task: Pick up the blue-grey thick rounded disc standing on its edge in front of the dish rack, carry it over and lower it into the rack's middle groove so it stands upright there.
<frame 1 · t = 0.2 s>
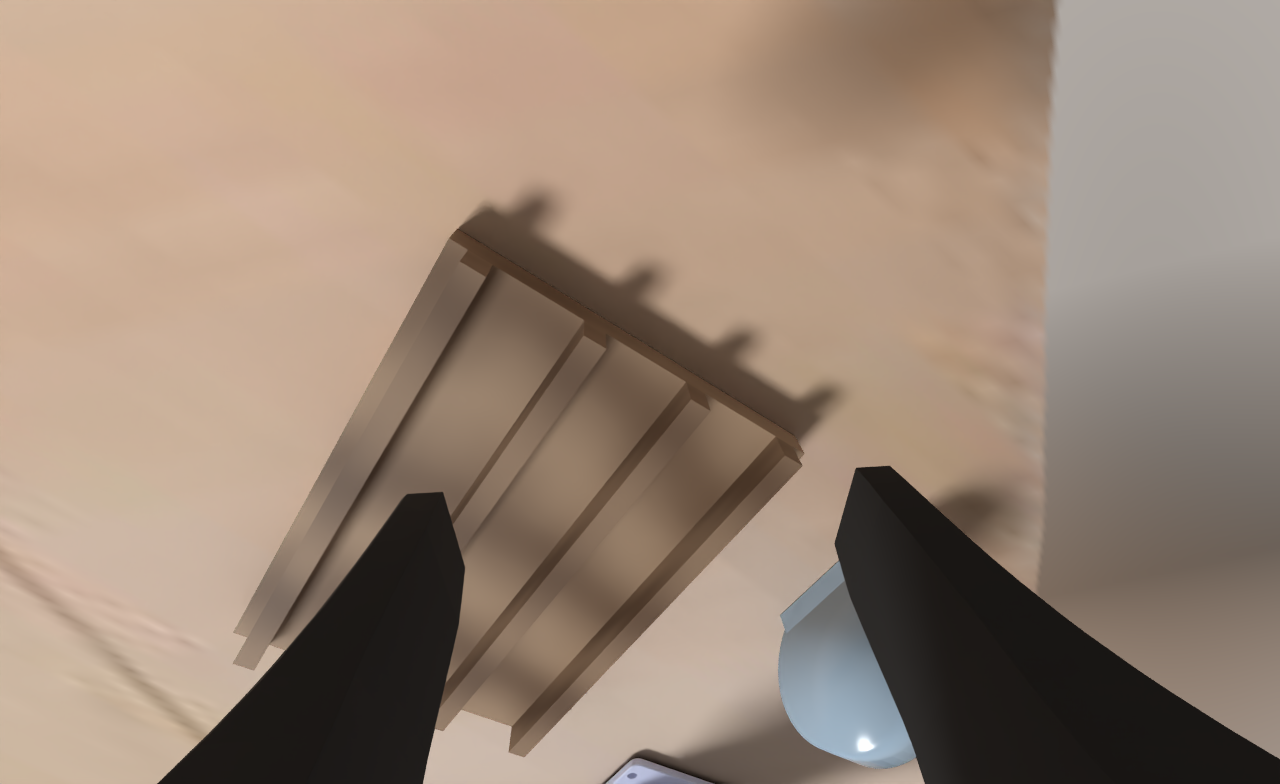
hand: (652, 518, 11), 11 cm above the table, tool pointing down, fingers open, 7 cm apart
rack: (508, 526, 24), on the table
blue-grey thick rounded disc: (828, 593, 27), on the table
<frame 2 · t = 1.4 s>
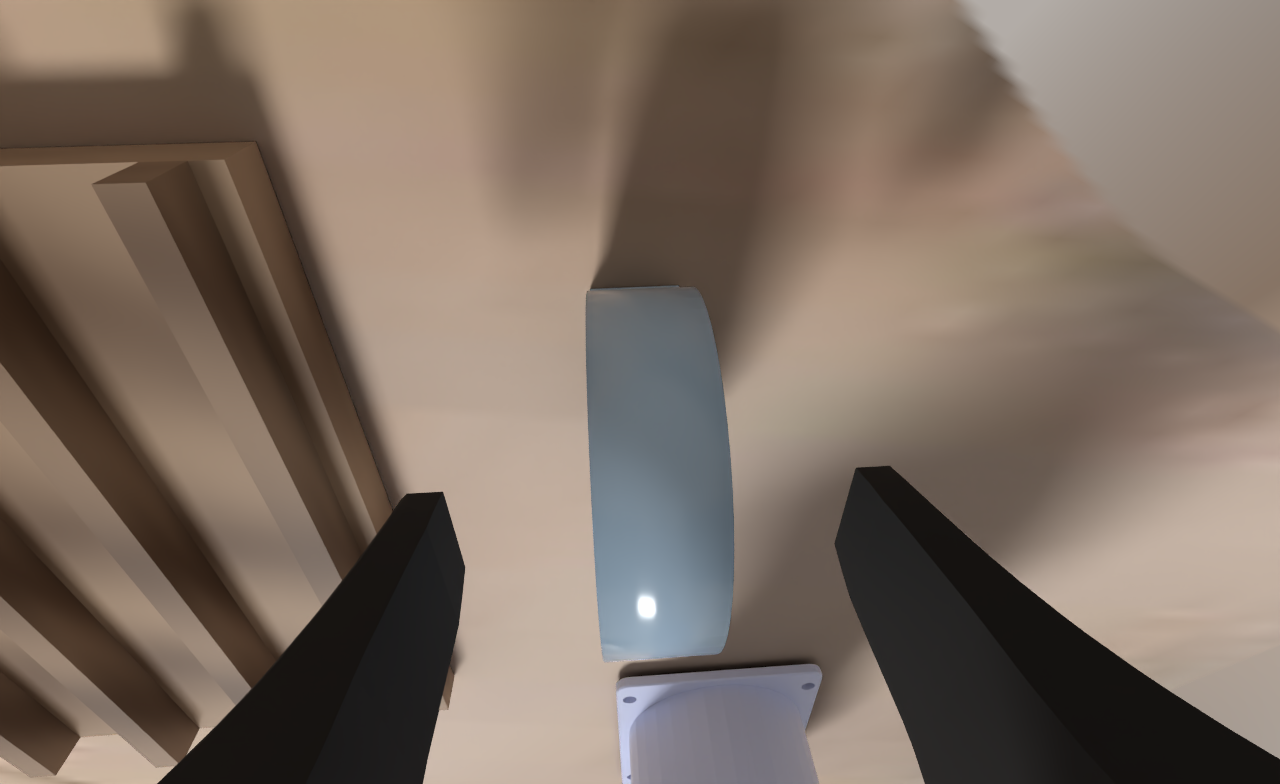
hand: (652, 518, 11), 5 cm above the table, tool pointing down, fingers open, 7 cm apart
rack: (128, 514, 16), on the table
blue-grey thick rounded disc: (635, 368, 15), on the table
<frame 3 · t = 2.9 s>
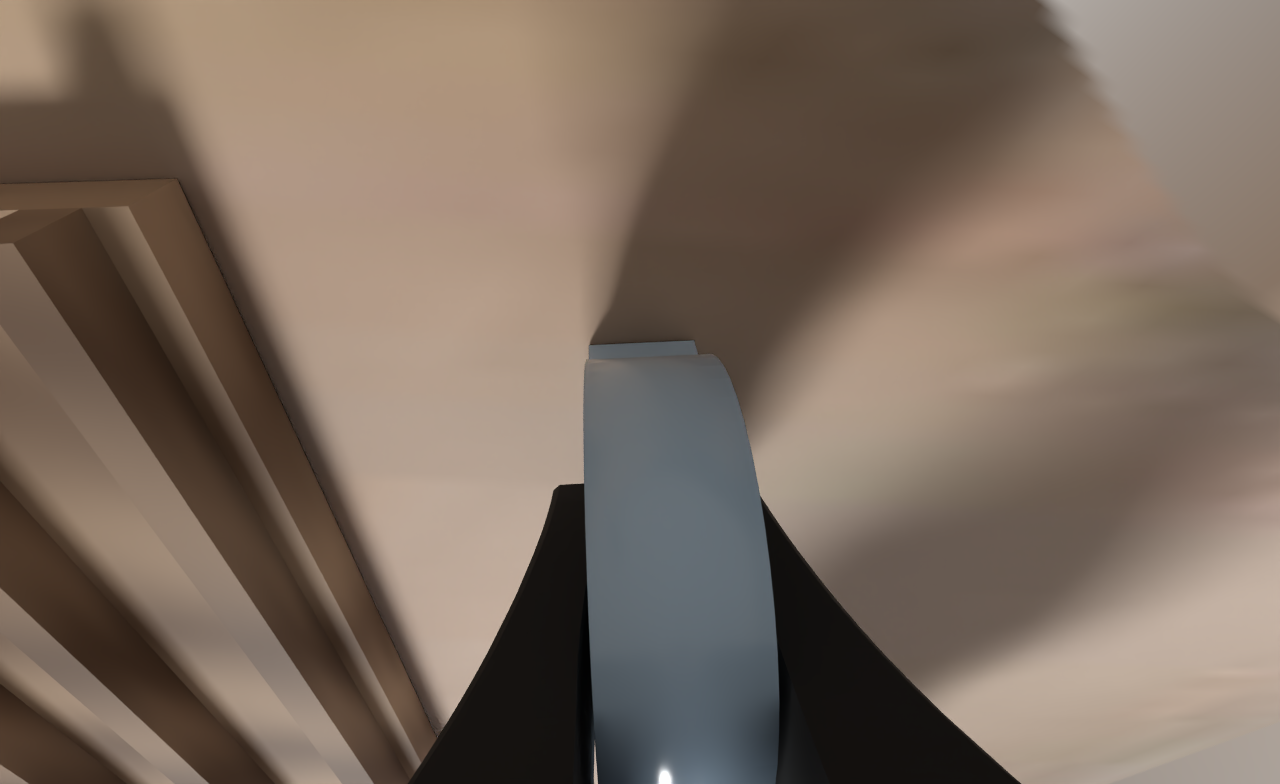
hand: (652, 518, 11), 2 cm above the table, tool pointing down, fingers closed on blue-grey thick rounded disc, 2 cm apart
rack: (60, 590, 14), on the table
blue-grey thick rounded disc: (642, 431, 13), on the table, touching gripper
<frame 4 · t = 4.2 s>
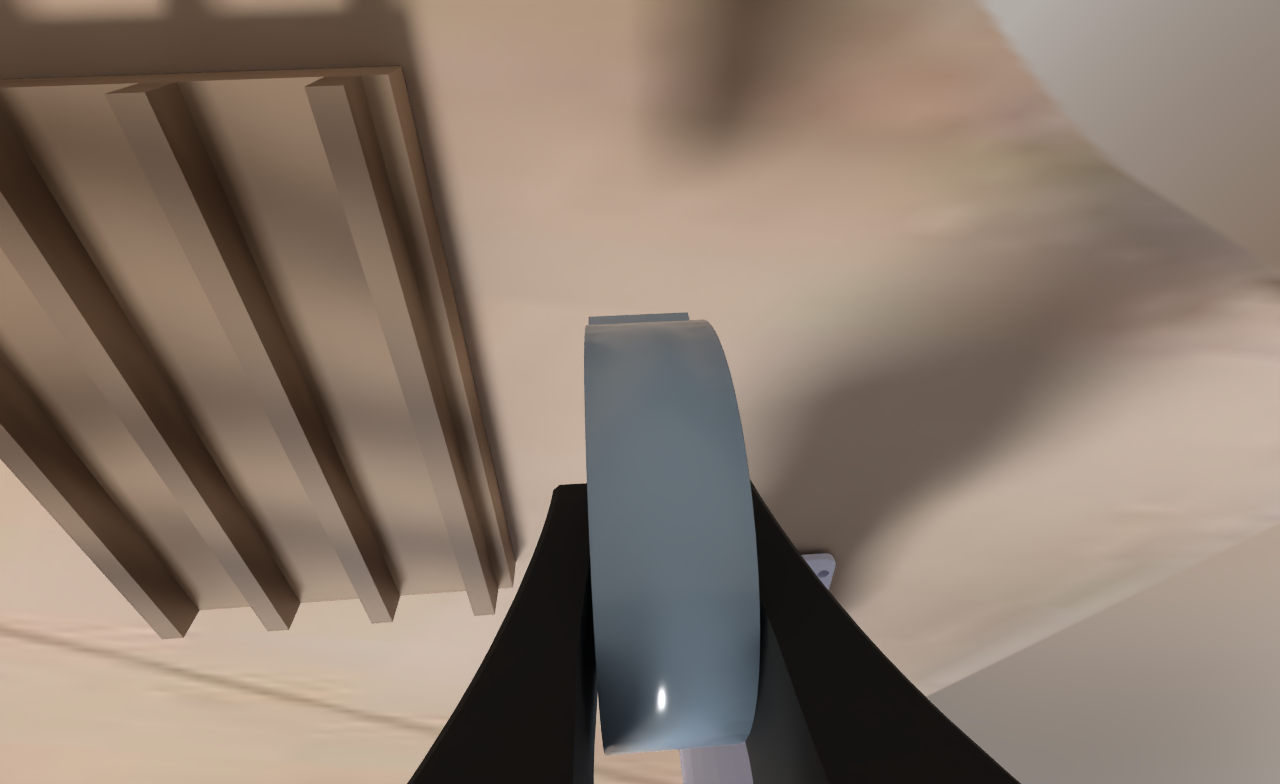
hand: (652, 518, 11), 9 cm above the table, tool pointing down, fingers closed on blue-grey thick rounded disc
rack: (260, 397, 20), on the table
blue-grey thick rounded disc: (639, 401, 13), point 6 cm above the table, touching gripper
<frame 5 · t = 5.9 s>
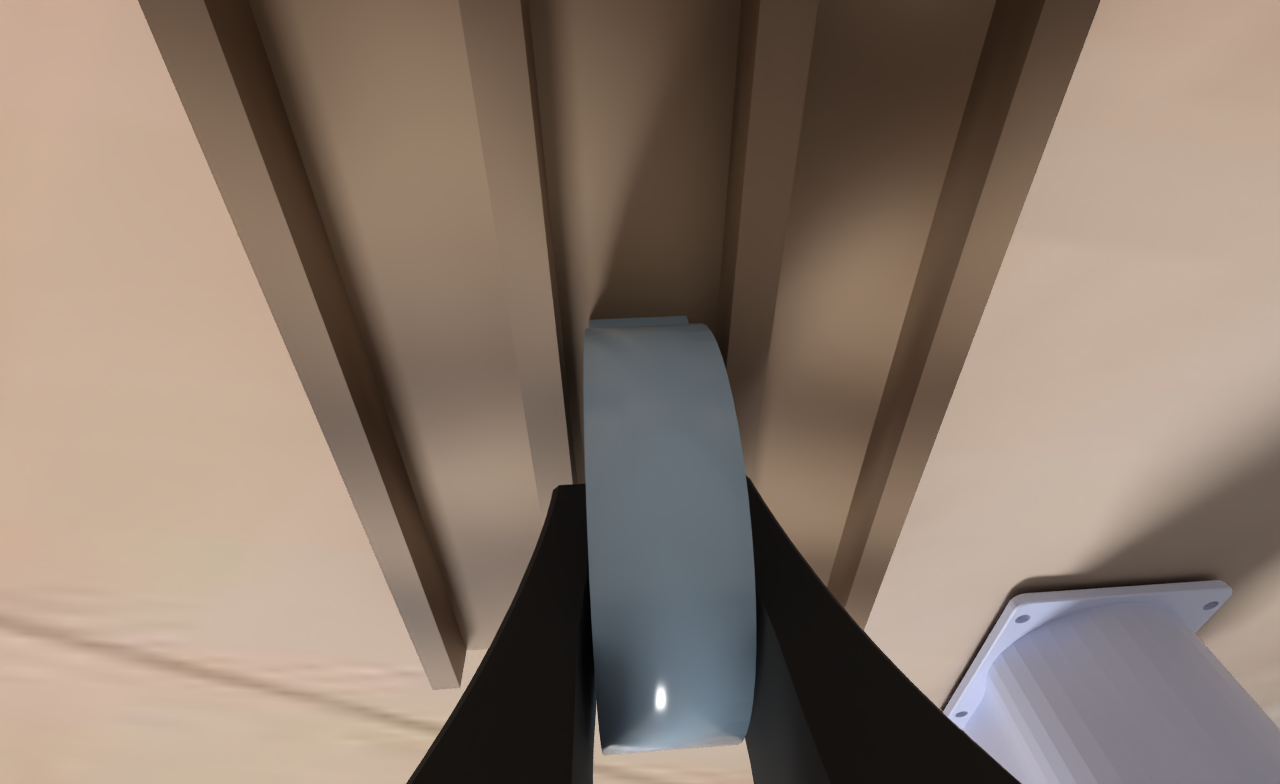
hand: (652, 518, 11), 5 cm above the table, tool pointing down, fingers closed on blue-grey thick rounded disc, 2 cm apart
rack: (637, 372, 14), on the table
blue-grey thick rounded disc: (638, 403, 14), point 1 cm above the table, touching gripper, rack
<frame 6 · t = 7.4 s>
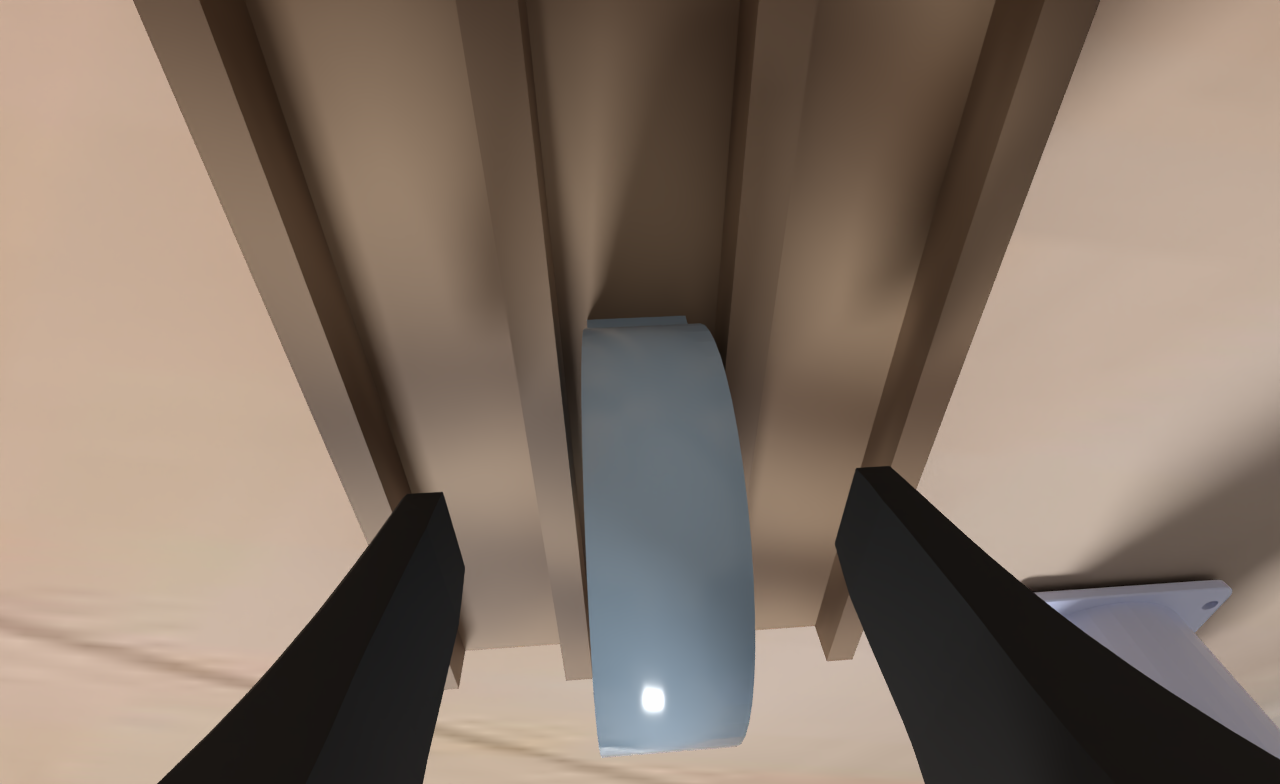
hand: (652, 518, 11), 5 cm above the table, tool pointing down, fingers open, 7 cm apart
rack: (635, 372, 14), on the table
blue-grey thick rounded disc: (637, 403, 13), point 1 cm above the table, touching rack
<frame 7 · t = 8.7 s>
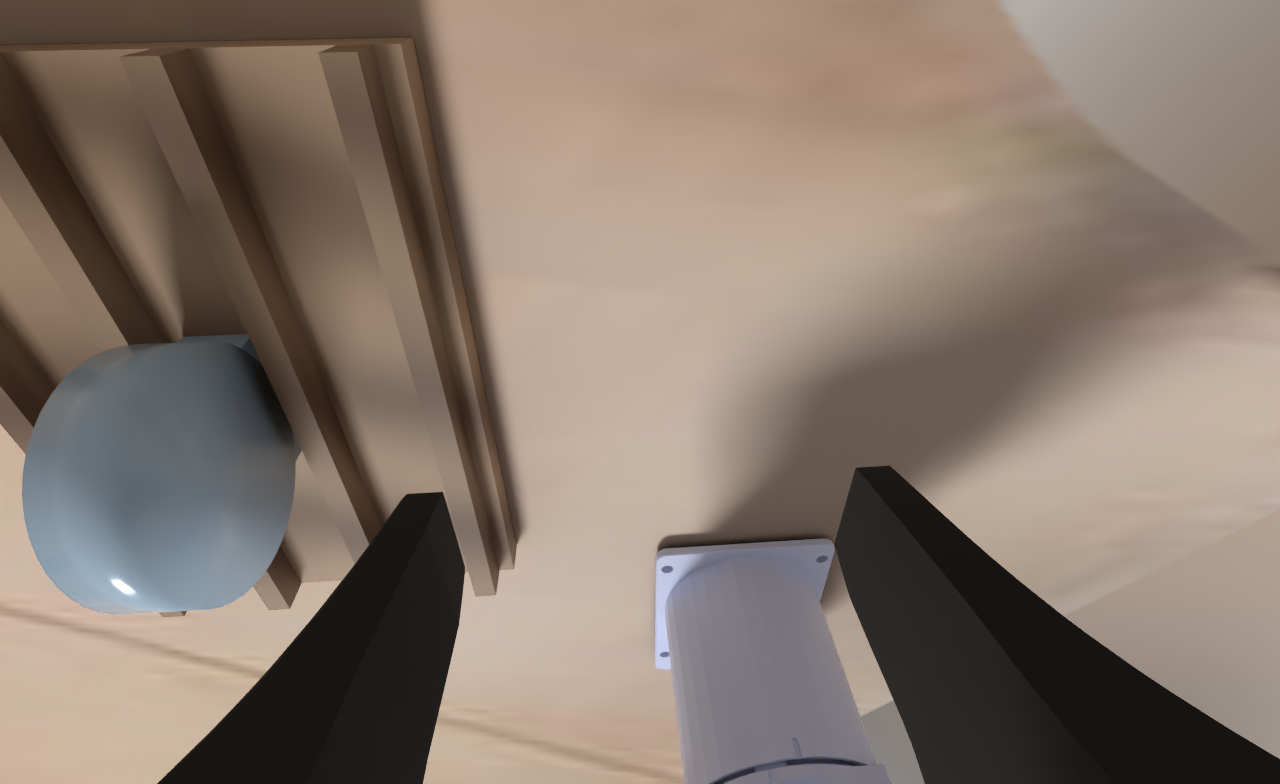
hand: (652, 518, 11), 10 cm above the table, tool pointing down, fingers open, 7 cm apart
rack: (265, 373, 20), on the table
blue-grey thick rounded disc: (247, 395, 19), point 1 cm above the table, touching rack
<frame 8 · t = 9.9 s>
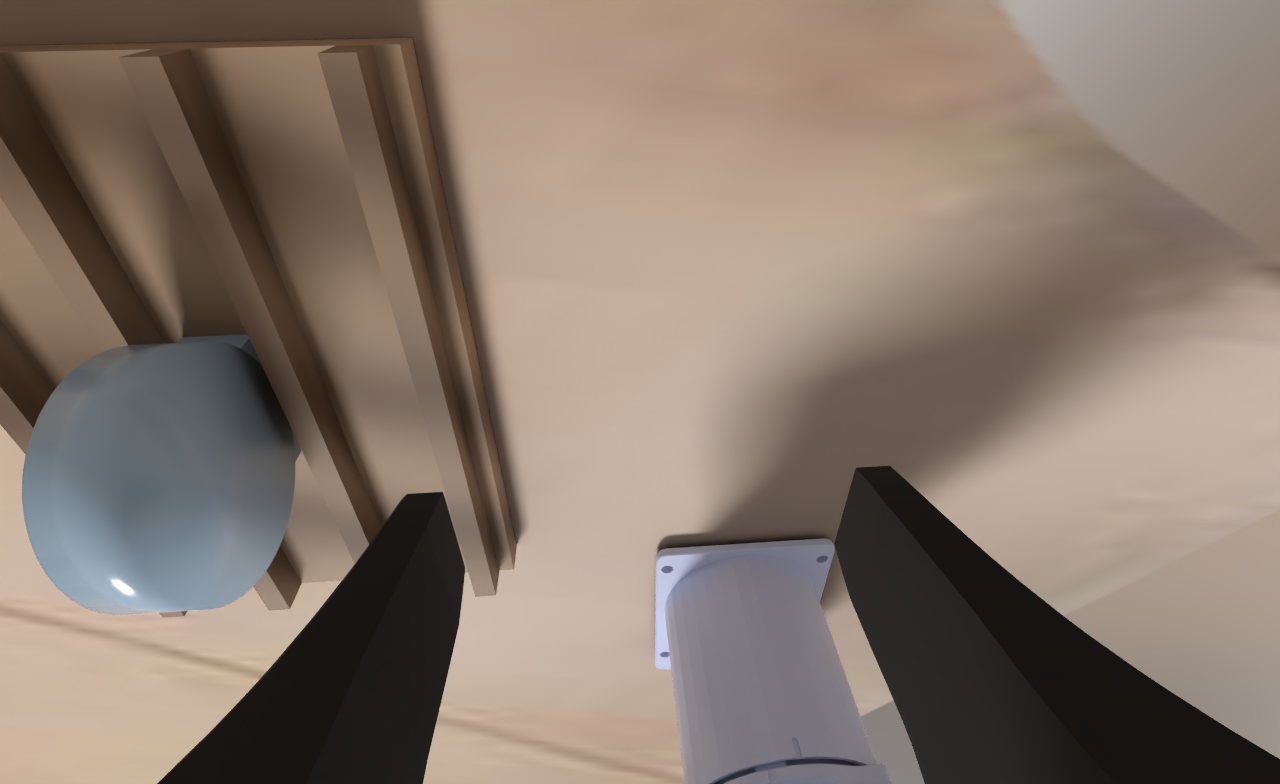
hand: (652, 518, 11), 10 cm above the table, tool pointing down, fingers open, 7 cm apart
rack: (265, 373, 20), on the table
blue-grey thick rounded disc: (247, 395, 19), point 1 cm above the table, touching rack
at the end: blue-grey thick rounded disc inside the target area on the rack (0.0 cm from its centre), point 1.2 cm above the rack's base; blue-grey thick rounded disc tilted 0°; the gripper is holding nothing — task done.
